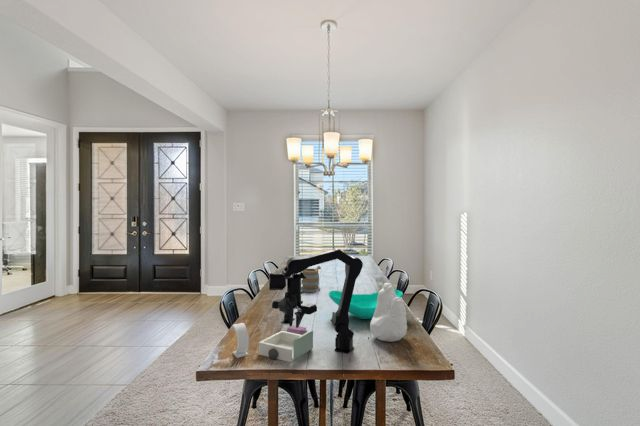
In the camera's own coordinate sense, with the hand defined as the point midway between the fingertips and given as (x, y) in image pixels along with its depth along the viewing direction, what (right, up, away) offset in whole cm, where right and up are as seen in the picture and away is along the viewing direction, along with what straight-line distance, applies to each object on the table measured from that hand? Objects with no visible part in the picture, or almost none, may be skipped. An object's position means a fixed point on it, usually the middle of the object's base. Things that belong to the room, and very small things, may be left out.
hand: (294, 327), depth 162 cm
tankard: (+6, -6, +113) cm, 113 cm away
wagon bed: (-3, -11, +3) cm, 12 cm away
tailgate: (+4, -10, -2) cm, 11 cm away
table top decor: (+35, -9, +49) cm, 61 cm away
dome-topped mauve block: (0, -10, +19) cm, 21 cm away
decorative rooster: (+41, -11, +14) cm, 45 cm away
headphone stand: (-22, -11, -1) cm, 24 cm away
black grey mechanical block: (-6, -10, +43) cm, 44 cm away
